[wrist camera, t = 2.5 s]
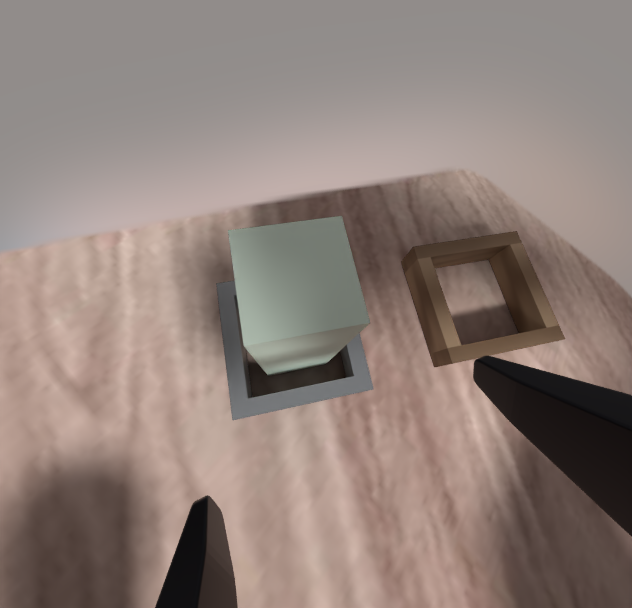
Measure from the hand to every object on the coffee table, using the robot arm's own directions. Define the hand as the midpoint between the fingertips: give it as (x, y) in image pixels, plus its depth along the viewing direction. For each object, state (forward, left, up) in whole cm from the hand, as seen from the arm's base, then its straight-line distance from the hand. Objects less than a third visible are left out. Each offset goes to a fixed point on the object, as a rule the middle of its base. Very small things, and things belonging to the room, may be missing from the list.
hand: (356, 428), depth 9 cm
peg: (+5, +1, -11) cm, 13 cm away
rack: (+6, -13, -11) cm, 18 cm away
